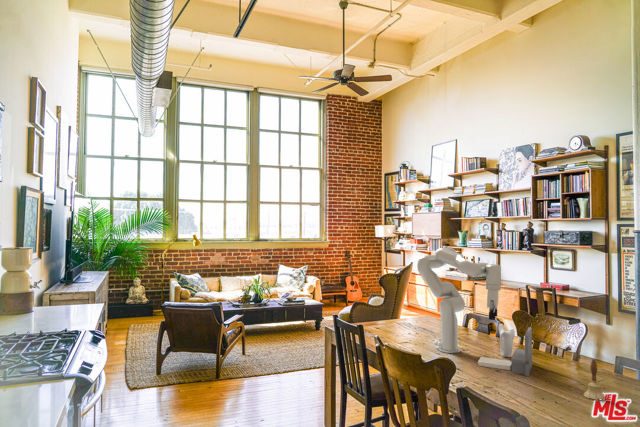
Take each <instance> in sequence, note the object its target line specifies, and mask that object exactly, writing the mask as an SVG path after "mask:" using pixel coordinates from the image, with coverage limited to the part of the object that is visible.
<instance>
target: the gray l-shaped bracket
mask: <svg viewBox="0 0 640 427" xmlns="http://www.w3.org/2000/svg"><path fill="white" fill-rule="evenodd" d="M510 361H511V366H512V368H511V373H512V374H518V375H524V376H525V377H527V378H528V377H530V373H531V370H532V368H533V328H532V327H531V326H528V328H527V330H526V332H525V334H524V349H522V348H515V349H514V351H513V352H512V355H511V357H510Z"/></svg>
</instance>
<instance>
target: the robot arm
mask: <svg viewBox="0 0 640 427" xmlns="http://www.w3.org/2000/svg"><path fill="white" fill-rule="evenodd" d="M446 265H449V266H452V267H454V268H456V269H457V270H458V271H459V272H461V273H462V274H466V275H468V276H470V277H474V278H479V277H485V289H486V290H487V294H486V295H487V296H486V308H487V309H488V308H489V309H488V320H492V321H495V320H496V317H498V306H499V291H501V289H502V288H501V287H502V284H501V282H502V281H501V280H502V277H501V276H502V267H501V265H500V264H494V263H492V264H491V263H486V262H477V263H475V262H471V261H469V260H466V259H465V257H464V255H463V254H462V253H460V252H457V251H456V250H455V248H453V247H451V246H450V247H440V248H438V249H437V250H436V251H435V254H427V255H423V256H421V257H419V259H418V261H417V264H416V266H417V271H418V273H419V275H420V276H421V278H422V279H423V280H424V282H425V283H426V285H427V286H428V288H429V290H430V291H431V293H432V294H433V296H434V297H435V298H438V299H441V300H440V301H439V304H438V306H439V313H440V341H433V342H434V346H438V351H440V352H442V353H446V354H458V353H460V352H461V350H462V349H461V348H459V346H458V345H459V344H458V343H459V338H458V336H459V332H458V331H459V330H458V329H459V328H458V318H457V314H456V313H458V312H462V311H463V310H465V308H466V307H465V306H466V302H465V300H464V298H463V297H462V295H461V294H460V292H459V291H458V289H457V287H456V286H455V285H454V284H453V283H452V282H450V281H443V280H441V278H440V277H439V276H438V274H437V272H435V271H434V270H433V269H439V268H441V267H444V266H446Z"/></svg>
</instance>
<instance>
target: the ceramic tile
mask: <svg viewBox="0 0 640 427" xmlns="http://www.w3.org/2000/svg"><path fill="white" fill-rule="evenodd" d="M477 366H480V367H486V368H493V369H500V370H506V371H512V366H511V360H506V359H499V358H492V357H487V356H486V357H484V356H480V358H479V360H478V361H477Z"/></svg>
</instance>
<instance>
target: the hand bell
mask: <svg viewBox="0 0 640 427" xmlns="http://www.w3.org/2000/svg"><path fill="white" fill-rule="evenodd" d="M589 369H590V372H591V382H589V383H588V384H587V390H586V391H585V392H584V393H583V396H584V397H585V398H586V397H587V398H586V399H589V398H592V399H605V397H606V396H605V395H604V394H603V392H602V389H601V388H602V387H601V385H600V384H599V383H597V373H598V364H597V361H596V359H592V360H591V363H590V368H589ZM592 399H591V400H592Z"/></svg>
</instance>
